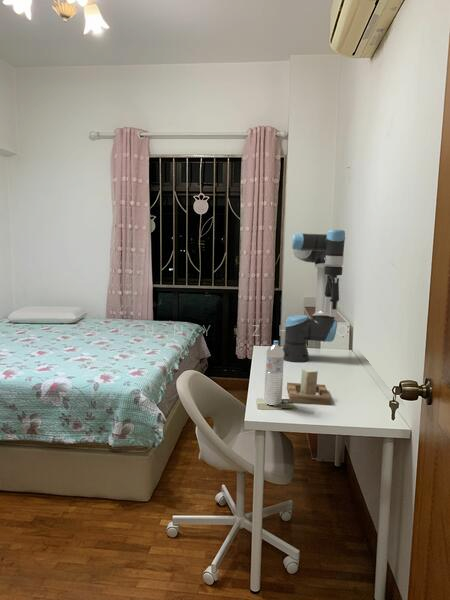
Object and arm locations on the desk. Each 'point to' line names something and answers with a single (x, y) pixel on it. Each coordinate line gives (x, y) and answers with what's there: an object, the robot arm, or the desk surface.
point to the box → (308, 381)
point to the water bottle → (274, 375)
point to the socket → (304, 398)
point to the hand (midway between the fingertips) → (330, 313)
